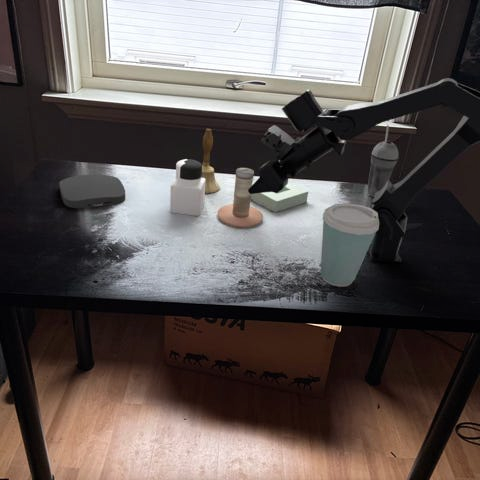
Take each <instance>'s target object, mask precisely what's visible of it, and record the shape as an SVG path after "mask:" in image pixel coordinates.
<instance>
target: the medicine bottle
mask: <svg viewBox="0 0 480 480" xmlns="http://www.w3.org/2000/svg"><path fill="white" fill-rule="evenodd" d="M175 164H176V165H175V178H174V180H173V182H172V183H171V184H170V200H169V201H170V205H169V207H170V208H169V209H170V210H169V212H170V213H171V214H172V213H173V214H179V215H180V214H181V215H186V216H193V217H195V216H196V217H199V216H200V215H201V212H202V211H203V208H204V205H205V197H206V193H205V182H206V179H205V178H202V165H203V163H201V162H200V161H198V160H195V159H187V158H185V159H181V160H178V161H177V162H176V163H175Z"/></svg>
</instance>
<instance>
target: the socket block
mask: <svg viewBox="0 0 480 480" xmlns="http://www.w3.org/2000/svg"><path fill="white" fill-rule="evenodd" d="M255 182H256V181H253V183H252V185H253V184H254V183H255ZM308 196H309V191H308V190H306V189H304V188H302V187H300V186H298V185H295V184H294V183H292V182H289V181H288V184H287V185H286V186H285V187H284V188H283V189H282V190H281V191H279V192H278V193H274V192H265V193H256V194H251V201H254V202H255V203H257V204H260V205H262V206H264V207H265V208H267V209H268V210H270V211H272V212H274V213H277V212H279V211H283V210H287V209H289V208H292V207H295V206H298V205H301V204H304V203H307V202H308Z"/></svg>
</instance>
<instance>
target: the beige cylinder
mask: <svg viewBox="0 0 480 480" xmlns="http://www.w3.org/2000/svg"><path fill="white" fill-rule="evenodd" d="M254 173H255V171H254V169H251V168H248V167H239V168H237V169H236V170H235V181H234V182H235V183H234V194H233V200H232V201H233V203H232V204H233V211H232V214H233V215H234V216H235V217H238V218H245V217H248V216H249V209H250V206H251V201H252V199H251V194H250V193H249V192H248V189H249V188H250V187H251V186H252V183H253V182H254V181H253V180H254V175H255V174H254Z"/></svg>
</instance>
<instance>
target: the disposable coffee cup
mask: <svg viewBox="0 0 480 480" xmlns="http://www.w3.org/2000/svg"><path fill="white" fill-rule="evenodd" d="M371 208H372V207H368V206H364V205H361V204H355V203H347V202H346V203H334V204H333V205H330V206H328V207H327V208H325V209H324V211H323V214H322V239H321V255H320V256H321V257H320V275H321V278H322V280H323V281H324V282H325V283H327V284H329V285H331V286H335V287H339V288H341V287H342V288H343V287H348V286H350V285H351V284H353V282H354V281H355V280H356V278H357V275H358V273H359V270H360V268H361V267H362V264H363V261H365V257H366V255H367V253H368V249H369V246H370V244H372V242H373V238H374V235H375V233H376V231H378V229H379V219H378V213H377V212H376V211H374V210H373V209H371Z"/></svg>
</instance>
